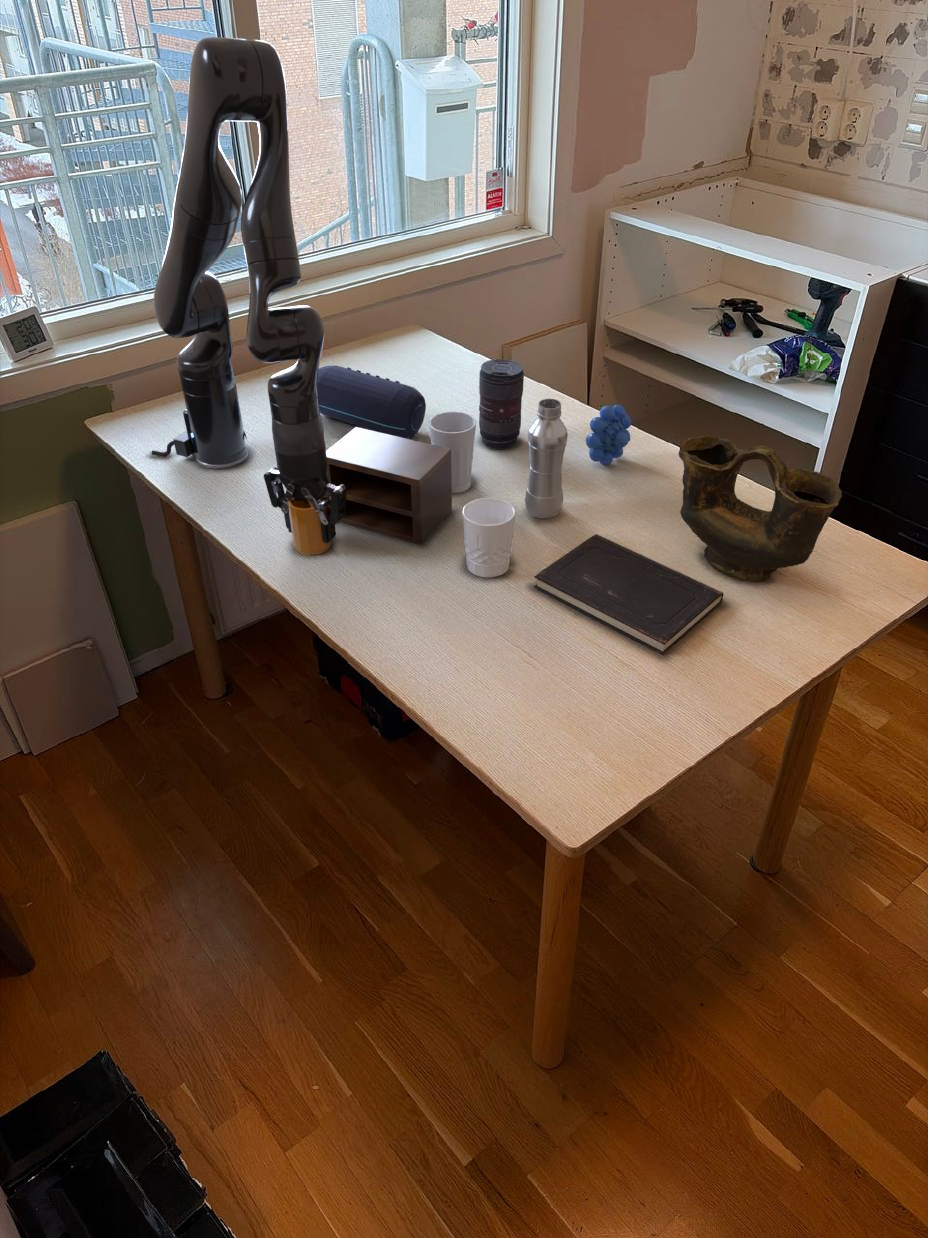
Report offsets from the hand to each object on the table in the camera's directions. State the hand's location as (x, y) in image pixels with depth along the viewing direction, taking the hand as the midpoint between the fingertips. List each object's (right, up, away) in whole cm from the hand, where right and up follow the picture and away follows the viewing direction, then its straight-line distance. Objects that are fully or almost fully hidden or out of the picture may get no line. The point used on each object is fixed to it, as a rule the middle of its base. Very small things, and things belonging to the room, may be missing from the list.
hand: (311, 535), depth 148 cm
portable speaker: (+6, +25, +34) cm, 42 cm away
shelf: (+12, +4, +8) cm, 15 cm away
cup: (+23, +10, +16) cm, 30 cm away
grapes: (+51, +14, +21) cm, 57 cm away
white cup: (+28, -5, -3) cm, 29 cm away
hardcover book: (+49, -10, -10) cm, 51 cm away
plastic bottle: (+38, +4, +8) cm, 39 cm away
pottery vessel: (+68, -5, -3) cm, 68 cm away
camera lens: (+31, +20, +28) cm, 47 cm away
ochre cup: (0, -1, +1) cm, 2 cm away
